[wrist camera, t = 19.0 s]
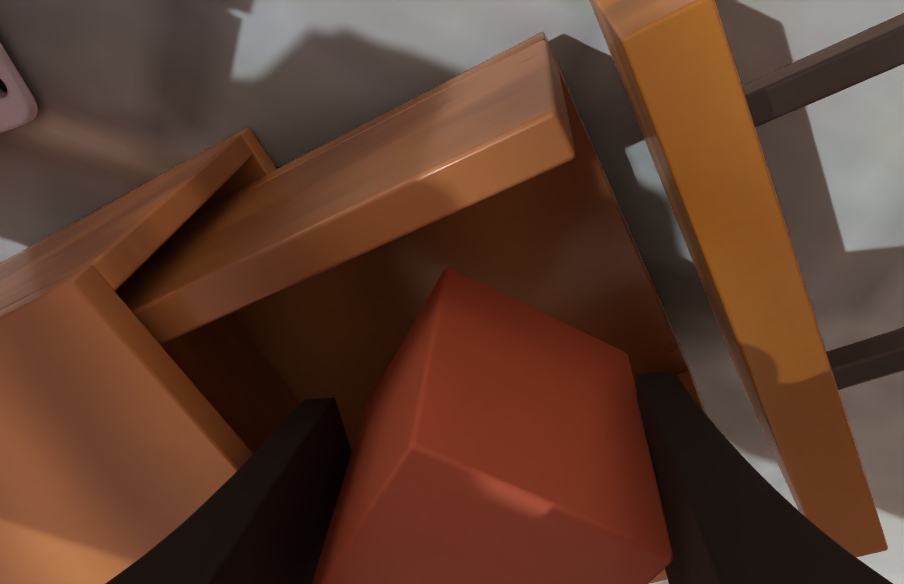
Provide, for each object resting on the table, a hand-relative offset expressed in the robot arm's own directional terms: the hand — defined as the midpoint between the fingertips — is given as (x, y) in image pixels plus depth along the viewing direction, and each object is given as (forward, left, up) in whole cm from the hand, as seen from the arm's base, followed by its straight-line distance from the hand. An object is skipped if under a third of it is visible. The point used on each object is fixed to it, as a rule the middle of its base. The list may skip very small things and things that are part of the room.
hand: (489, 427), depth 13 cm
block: (0, 0, -1) cm, 1 cm away
